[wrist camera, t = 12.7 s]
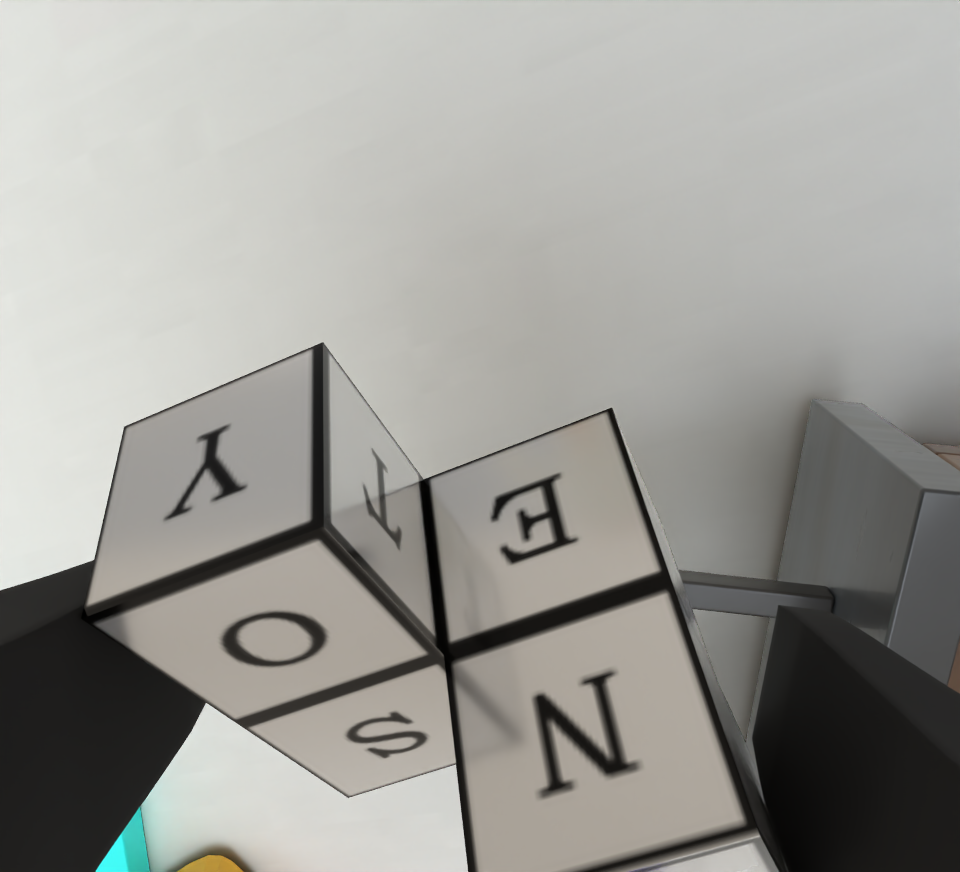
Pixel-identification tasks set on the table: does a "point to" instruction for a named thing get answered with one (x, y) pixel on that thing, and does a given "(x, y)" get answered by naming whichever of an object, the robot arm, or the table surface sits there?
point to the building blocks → (434, 622)
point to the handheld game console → (128, 850)
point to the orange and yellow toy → (211, 865)
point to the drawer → (863, 543)
